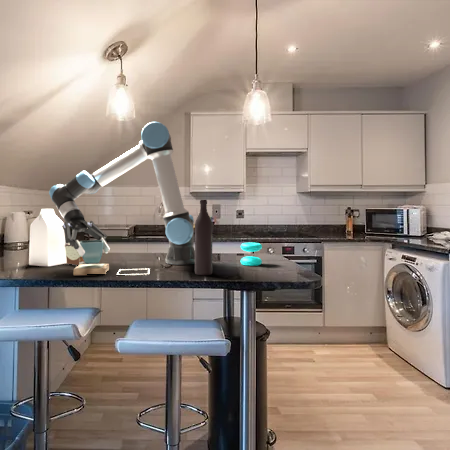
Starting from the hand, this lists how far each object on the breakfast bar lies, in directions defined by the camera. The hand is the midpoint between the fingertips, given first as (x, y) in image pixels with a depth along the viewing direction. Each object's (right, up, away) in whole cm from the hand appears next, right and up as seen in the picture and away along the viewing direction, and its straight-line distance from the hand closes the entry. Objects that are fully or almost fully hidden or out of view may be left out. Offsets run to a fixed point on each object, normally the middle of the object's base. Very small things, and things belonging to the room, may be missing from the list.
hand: (96, 252), depth 156 cm
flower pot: (-2, -4, +2) cm, 5 cm away
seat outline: (+15, -8, +2) cm, 17 cm away
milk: (-31, -7, +24) cm, 40 cm away
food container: (-16, -7, +24) cm, 30 cm away
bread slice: (-2, -8, +2) cm, 9 cm away
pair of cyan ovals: (+65, -8, +24) cm, 70 cm away
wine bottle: (+44, -9, -1) cm, 45 cm away
